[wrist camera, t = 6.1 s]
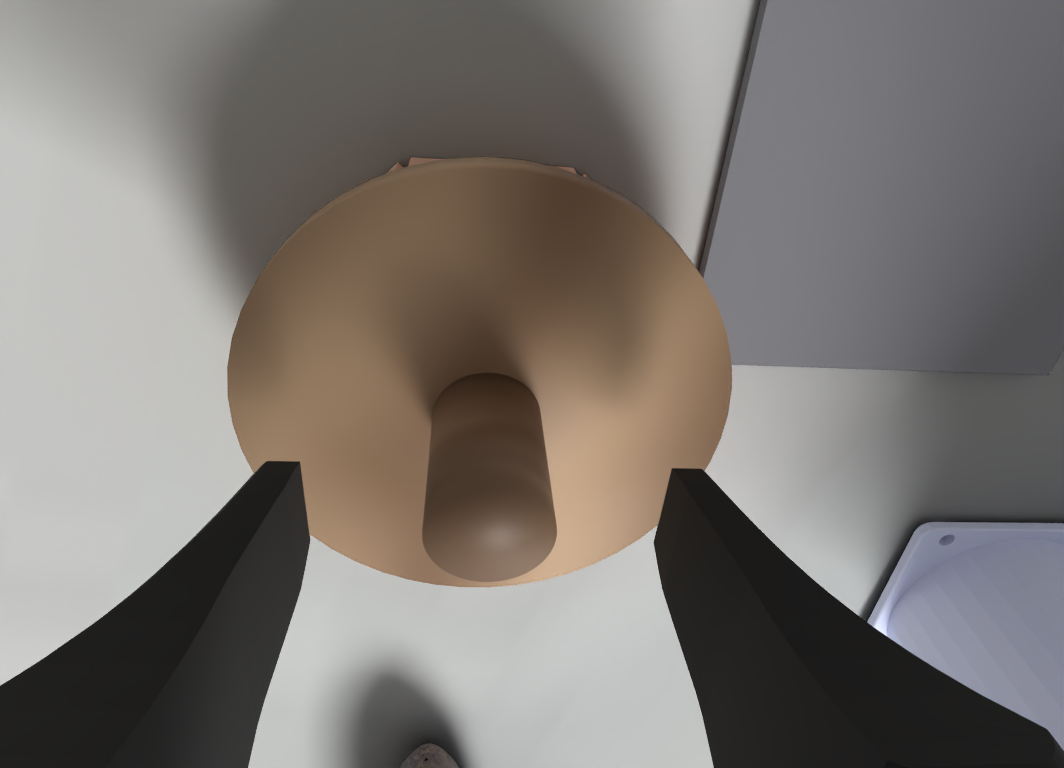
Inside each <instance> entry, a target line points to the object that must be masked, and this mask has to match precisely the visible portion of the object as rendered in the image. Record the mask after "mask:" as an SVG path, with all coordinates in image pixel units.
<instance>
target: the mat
mask: <svg viewBox="0 0 1064 768" xmlns="http://www.w3.org/2000/svg"><path fill="white" fill-rule="evenodd" d="M699 273H700V275H701V276H702V278H703V279H704V281H705V283H706V285H707V287H708V289H709V290H710V292H711V294H712V296H713V298H714V300H715V302H716V304H717V306H718V309H719V312H720V314H721V317H722V320H723V323H724V326H725V329H726V332H727V337H728V343H729V349H730V355H731V364H732V365H758V366H788V367H818V368H848V369H878V370H907V371H937V372H967V373H997V374H1026V375H1049V374H1050V372H1051V371H1052V369H1053V367H1054V365H1055V364H1056V362H1057V360H1058V358H1059V357H1060V355H1061V353H1062V351H1063V350H1064V0H761V1H760V5H759V10H758V14H757V18H756V23H755V27H754V32H753V36H752V41H751V45H750V49H749V54H748V58H747V63H746V67H745V71H744V76H743V80H742V85H741V89H740V94H739V98H738V102H737V107H736V111H735V116H734V120H733V124H732V129H731V133H730V138H729V142H728V146H727V151H726V155H725V160H724V164H723V169H722V173H721V177H720V182H719V186H718V191H717V195H716V199H715V204H714V208H713V213H712V217H711V222H710V226H709V230H708V235H707V239H706V244H705V248H704V252H703V257H702V261H701V266H700V270H699Z"/></svg>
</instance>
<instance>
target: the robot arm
mask: <svg viewBox="0 0 1064 768" xmlns="http://www.w3.org/2000/svg"><path fill="white" fill-rule="evenodd" d="M309 544H310V535H309V527H308V519H307V512H306V504H305V496H304V489H303V481H302V473H301V466H300V461H266V462H265V463H264V464H262V465H261V466H260V467H259V469H258V470H257V471H256V472H255V473H254V474H253V475H252V476H251V477H250V479H249V480H248V481H247V482H246V483H245V484H244V485H243V486H242V487H241V489H240V490H239V491H238V492H237V493H236V494H235V495H234V496H233V497H232V498H231V499H230V500H229V502H228V503H227V504H226V505H225V506H224V507H223V508H222V509H221V510H220V511H219V512H218V513H217V514H216V515H215V516H214V517H213V518H212V519H211V520H210V521H209V522H208V523H207V524H206V525H205V527H204V528H203V529H202V530H201V531H200V532H199V533H198V534H197V535H196V536H195V537H194V538H193V539H192V540H191V541H190V542H189V543H188V544H187V545H186V546H184V547H183V548H182V549H181V550H180V551H179V552H178V553H177V554H176V555H175V556H174V557H173V558H171V559H170V560H169V561H168V562H167V563H166V564H165V565H164V566H163V567H162V568H161V569H160V570H158V571H157V572H156V573H155V574H154V575H153V576H152V577H151V578H150V579H148V580H147V581H146V582H145V583H144V584H143V585H141V586H140V587H139V588H138V589H137V590H136V591H134V592H133V593H132V594H131V595H130V596H128V597H127V598H126V599H125V600H123V601H122V602H121V603H120V604H118V605H117V606H116V607H115V608H113V609H112V610H111V611H110V612H108V613H107V614H106V615H104V616H103V617H102V618H100V619H99V620H98V621H96V622H95V623H94V624H92V625H91V626H90V627H88V628H87V629H85V630H84V631H82V632H81V633H80V634H78V635H77V636H75V637H74V638H72V639H71V640H69V641H68V642H67V643H65V644H64V645H62V646H61V647H59V648H58V649H57V650H55V651H54V652H52V653H51V654H49V655H48V656H47V657H45V658H44V659H42V660H41V661H39V662H37V663H36V664H34V665H33V666H31V667H30V668H28V669H26V670H25V671H23V672H22V673H20V674H19V675H17V676H15V677H14V678H12V679H11V680H9V681H7V682H6V683H4V684H2V685H1V686H0V768H248V765H249V760H250V756H251V751H252V747H253V743H254V738H255V734H256V729H257V725H258V721H259V718H260V714H261V711H262V707H263V704H264V700H265V697H266V694H267V691H268V688H269V685H270V682H271V679H272V676H273V673H274V670H275V667H276V664H277V661H278V658H279V654H280V651H281V648H282V645H283V642H284V639H285V636H286V633H287V630H288V627H289V624H290V621H291V618H292V615H293V612H294V609H295V606H296V603H297V599H298V596H299V593H300V590H301V585H302V580H303V575H304V571H305V566H306V560H307V555H308V549H309ZM654 546H655V552H656V558H657V564H658V569H659V574H660V579H661V584H662V589H663V592H664V596H665V599H666V602H667V605H668V608H669V611H670V614H671V618H672V621H673V624H674V627H675V630H676V633H677V636H678V639H679V642H680V645H681V648H682V651H683V654H684V657H685V660H686V663H687V666H688V670H689V673H690V676H691V679H692V682H693V685H694V688H695V691H696V694H697V698H698V701H699V705H700V708H701V712H702V716H703V720H704V724H705V729H706V734H707V738H708V743H709V747H710V752H711V756H712V761H713V765H714V768H1064V523H988V522H928V523H925V524H922V525H921V526H919V527H918V528H917V529H916V530H915V531H914V533H913V535H912V537H911V539H910V541H909V543H908V545H907V547H906V549H905V550H904V552H903V554H902V556H901V558H900V560H899V562H898V564H897V566H896V568H895V570H894V572H893V573H892V575H891V577H890V579H889V581H888V583H887V585H886V587H885V589H884V591H883V593H882V595H881V596H880V598H879V600H878V602H877V604H876V606H875V608H874V610H873V612H872V614H871V616H870V618H869V619H868V621H867V622H866V621H864V620H863V619H862V618H860V617H859V616H858V615H856V614H855V613H854V612H853V611H851V610H850V609H849V608H847V607H846V606H845V605H844V604H842V603H841V602H840V601H839V600H837V599H836V598H835V597H833V596H832V595H831V594H830V593H828V592H827V591H826V590H825V589H824V588H822V587H821V586H820V585H819V584H818V583H816V582H815V581H814V580H813V579H812V578H811V577H810V576H808V575H807V574H806V573H805V572H804V571H803V570H802V569H801V568H800V567H798V566H797V565H796V564H795V563H794V562H793V561H792V560H791V559H789V558H788V557H787V556H786V555H785V554H784V553H783V552H782V551H781V550H780V549H779V548H778V547H777V546H776V545H775V544H774V543H773V542H772V541H771V540H770V539H769V538H768V537H767V536H766V535H765V534H764V533H763V532H762V531H761V530H760V529H759V528H758V527H757V526H756V525H755V524H754V523H753V522H752V521H751V520H750V519H749V518H748V517H747V516H746V515H745V514H744V513H743V512H742V511H741V510H740V509H739V508H738V507H737V506H736V504H735V503H734V502H733V501H732V500H731V499H730V498H729V497H728V496H727V495H726V494H725V493H724V492H723V491H722V490H721V488H720V487H719V486H718V485H717V484H716V483H715V482H714V481H713V480H712V479H711V478H710V477H709V476H708V475H707V474H706V473H705V472H704V471H703V470H702V469H692V468H672V470H671V474H670V478H669V482H668V486H667V490H666V494H665V498H664V503H663V507H662V511H661V515H660V519H659V523H658V527H657V531H656V535H655V539H654Z"/></svg>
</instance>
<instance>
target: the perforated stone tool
mask: <svg viewBox="0 0 1064 768" xmlns="http://www.w3.org/2000/svg"><path fill="white" fill-rule="evenodd" d="M399 768H459V767H458V765H457V764H456V762H455V761H454V760H453V759H452V758H451V756H450V755H449V754H448V753H447V752H446V751H444V750H443V749H442V748H441V747H439V746H437V745H435V744H431V743H427V744H423V745H421V746H419V747H418V748H417V749H415V750H414V751H413V752H412V753H411V754H410V755H409V756H408V757H407V758H406V759H405V760H404V762H403V763H402V764H401V766H400V767H399Z"/></svg>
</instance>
